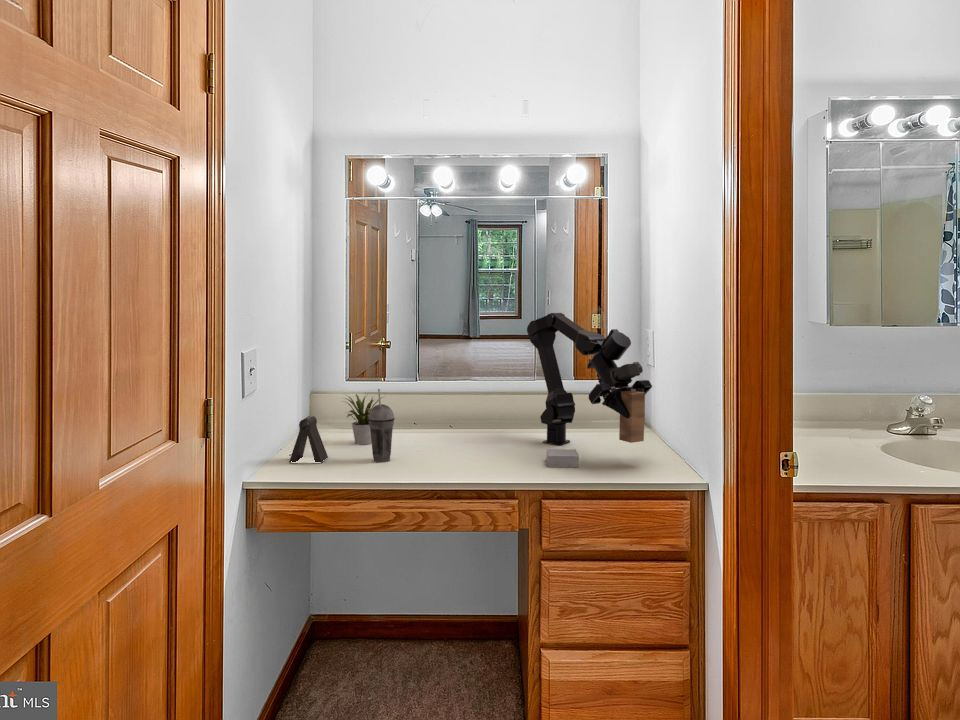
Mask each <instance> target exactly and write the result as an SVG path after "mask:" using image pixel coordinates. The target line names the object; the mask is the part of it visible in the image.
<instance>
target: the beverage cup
mask: <svg viewBox="0 0 960 720" xmlns="http://www.w3.org/2000/svg"><path fill="white" fill-rule="evenodd" d="M377 393H378V394H377V395H378V399H379V401H378V404H375V405H374V406H373V408H372V407H371V408H372V409H371V411H370V413H369V412H368V413H369V418H368V420H369V427H370V432H371V442H372V444H371V450H372V457H373V462H374V463H388V462H390V461H391V455H392V454H391V453H392V441H393V428H394V424H395V419H396V418H395V415H394V412H393V410H392V408H391V407H390V406H388V405H386V404H382V401H381V399H382V398H381V389H380V388H378V389H377ZM380 398H381V399H380Z"/></svg>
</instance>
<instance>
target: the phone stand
mask: <svg viewBox="0 0 960 720" xmlns="http://www.w3.org/2000/svg"><path fill="white" fill-rule="evenodd" d="M317 421H318V420H317V417H316V416H314V415H312V416H310V415H309V416H307V417H305V418H303V419H301V420H300V421H299V424H298V426H299V429H298V431H299V432H298V434H297V437H296V440H295V442H294V443H295V444H294V446H293V448H292V453H291V454H290V457H289V458H290V459H289V460H288V461H289V462H291V461H292V462H296V461H298V460H299V459H300V458H302V457H303V456H304V453H305V448H306V444H307V440H308V442H309V446H310V449H311V452H312V455H313V456H312V457H314V460H315V462H322V461H323V460H325V459H326V458H327V459H329V456H328V453H327V450H326V448H325V445H324V442H323V440H322V438H321V435H320V432H319V429H318V426H317V423H318V422H317ZM327 459H326V460H327ZM326 460H325V461H326ZM322 463H323V462H322Z"/></svg>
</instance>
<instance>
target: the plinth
mask: <svg viewBox="0 0 960 720" xmlns="http://www.w3.org/2000/svg"><path fill="white" fill-rule="evenodd" d="M545 460H546V463H547V464H546V465H547V467H548V468H579V460H580V459H579V454H578V451H577V449H568V448H566V449H565V448H559V449H558V448H557V449H556V448H553V449H552V448H546V459H545Z"/></svg>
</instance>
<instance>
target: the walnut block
mask: <svg viewBox="0 0 960 720" xmlns="http://www.w3.org/2000/svg"><path fill="white" fill-rule="evenodd" d="M621 399H622V401H623V403H624V404H625V406H626V408H627V410H628V412H629V414H630V417H629V418H628V419H627V418H625V417H624V416H622V415H621V414H619V430H618V431H619V432H618V433H619V434H618V435H619V437H618V438H619V441H623V442H625V443H626V442H627V443H630V444H633V443H640V442H644V440H645V439H644V438H645V410H646V409H645V404H646V403H645V401H646V395H645V393H644V392H639V391H623V392H621Z"/></svg>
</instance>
